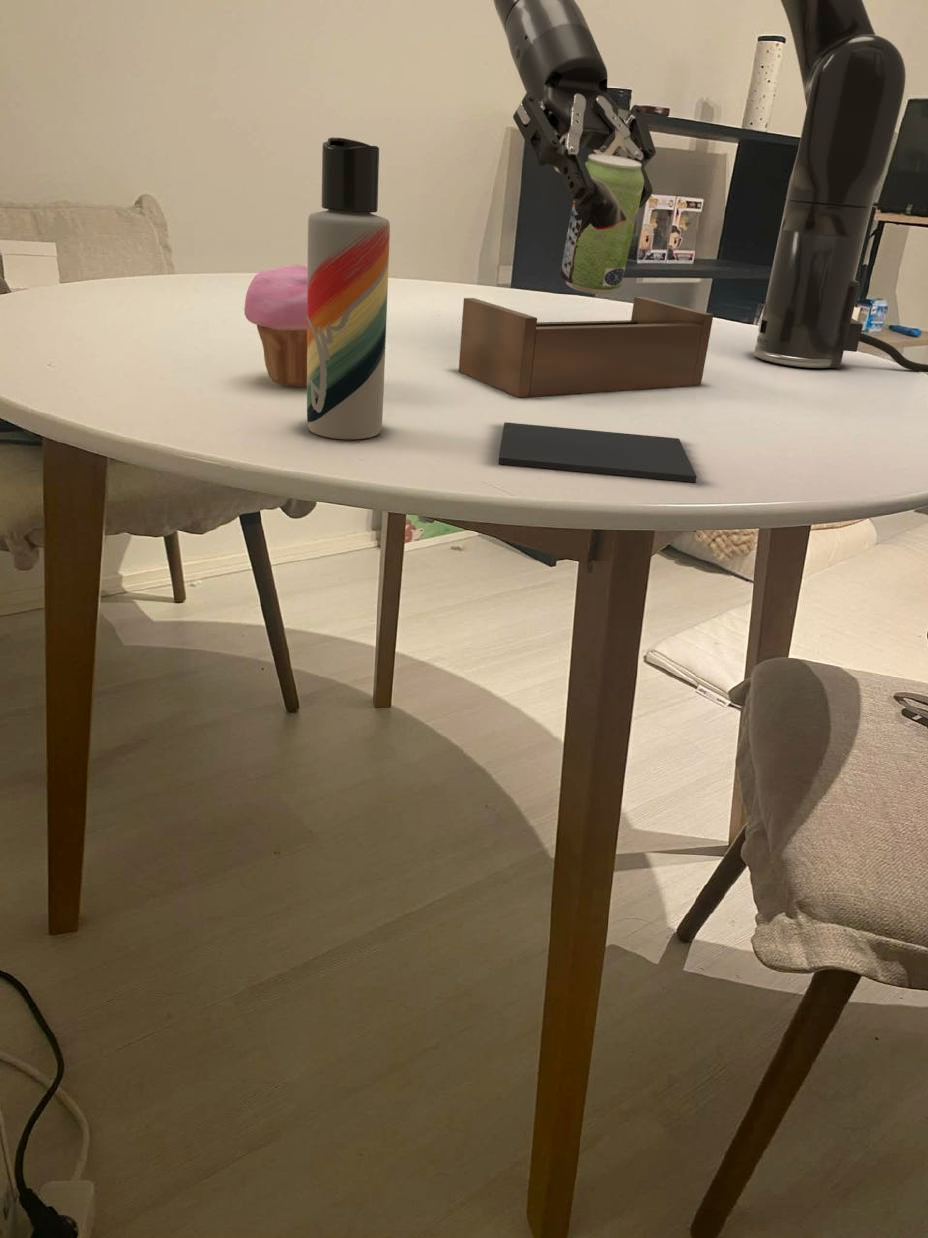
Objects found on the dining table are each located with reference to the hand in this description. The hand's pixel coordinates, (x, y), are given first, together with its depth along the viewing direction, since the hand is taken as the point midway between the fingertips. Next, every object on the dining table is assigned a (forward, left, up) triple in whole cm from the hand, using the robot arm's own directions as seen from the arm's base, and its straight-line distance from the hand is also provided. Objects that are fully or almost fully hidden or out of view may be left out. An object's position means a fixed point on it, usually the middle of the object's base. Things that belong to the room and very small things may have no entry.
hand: (615, 199), depth 90 cm
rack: (+1, -2, -17) cm, 17 cm away
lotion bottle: (+20, +25, -17) cm, 36 cm away
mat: (+1, +25, -17) cm, 30 cm away
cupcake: (+27, +11, -17) cm, 34 cm away
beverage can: (+1, -1, -8) cm, 9 cm away
